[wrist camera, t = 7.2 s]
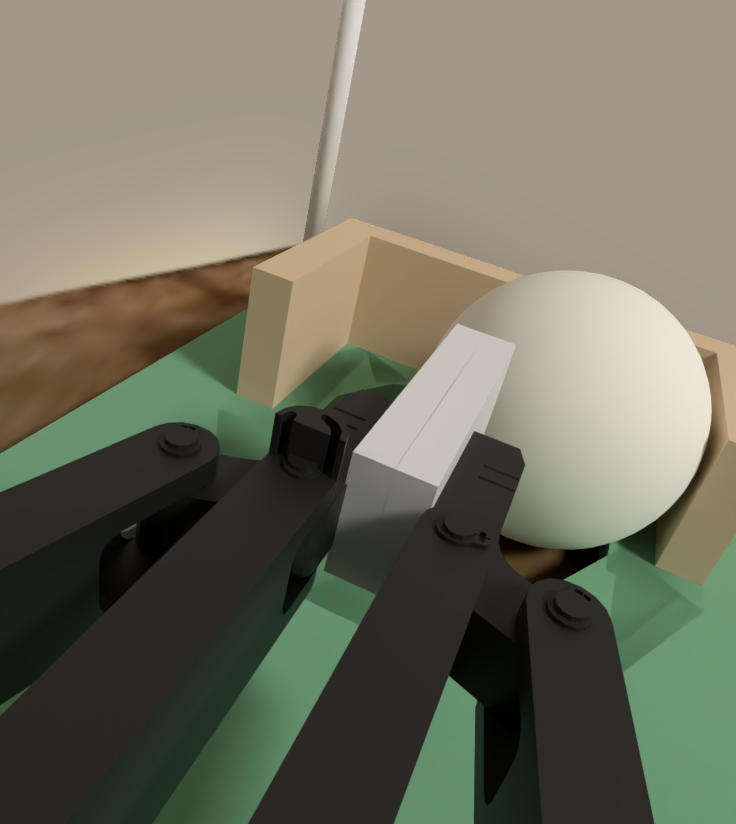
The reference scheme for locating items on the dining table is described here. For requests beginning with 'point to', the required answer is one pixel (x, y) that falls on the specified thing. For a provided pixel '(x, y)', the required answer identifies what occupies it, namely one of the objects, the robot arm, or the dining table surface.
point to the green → (347, 603)
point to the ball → (592, 406)
